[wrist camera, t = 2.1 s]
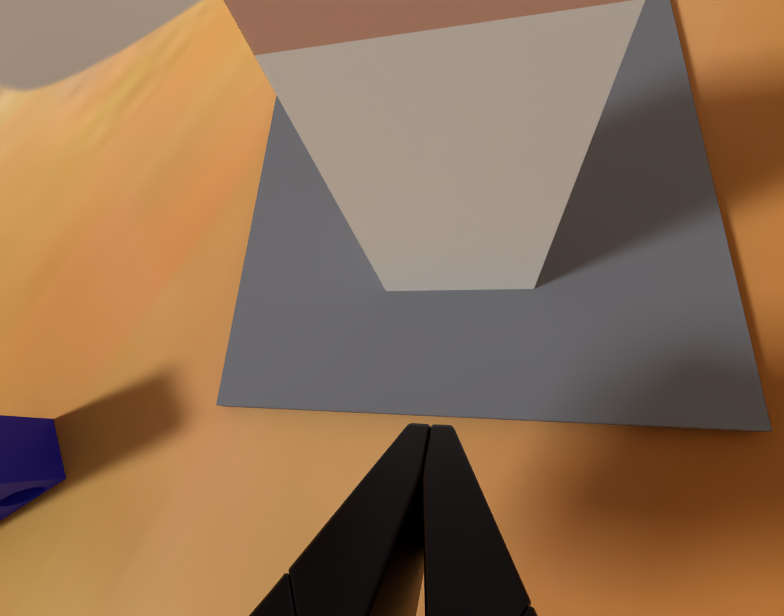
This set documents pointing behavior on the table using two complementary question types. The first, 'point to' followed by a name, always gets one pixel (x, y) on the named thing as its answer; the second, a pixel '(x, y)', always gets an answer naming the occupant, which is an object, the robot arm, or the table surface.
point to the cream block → (444, 121)
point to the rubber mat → (516, 306)
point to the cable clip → (27, 461)
